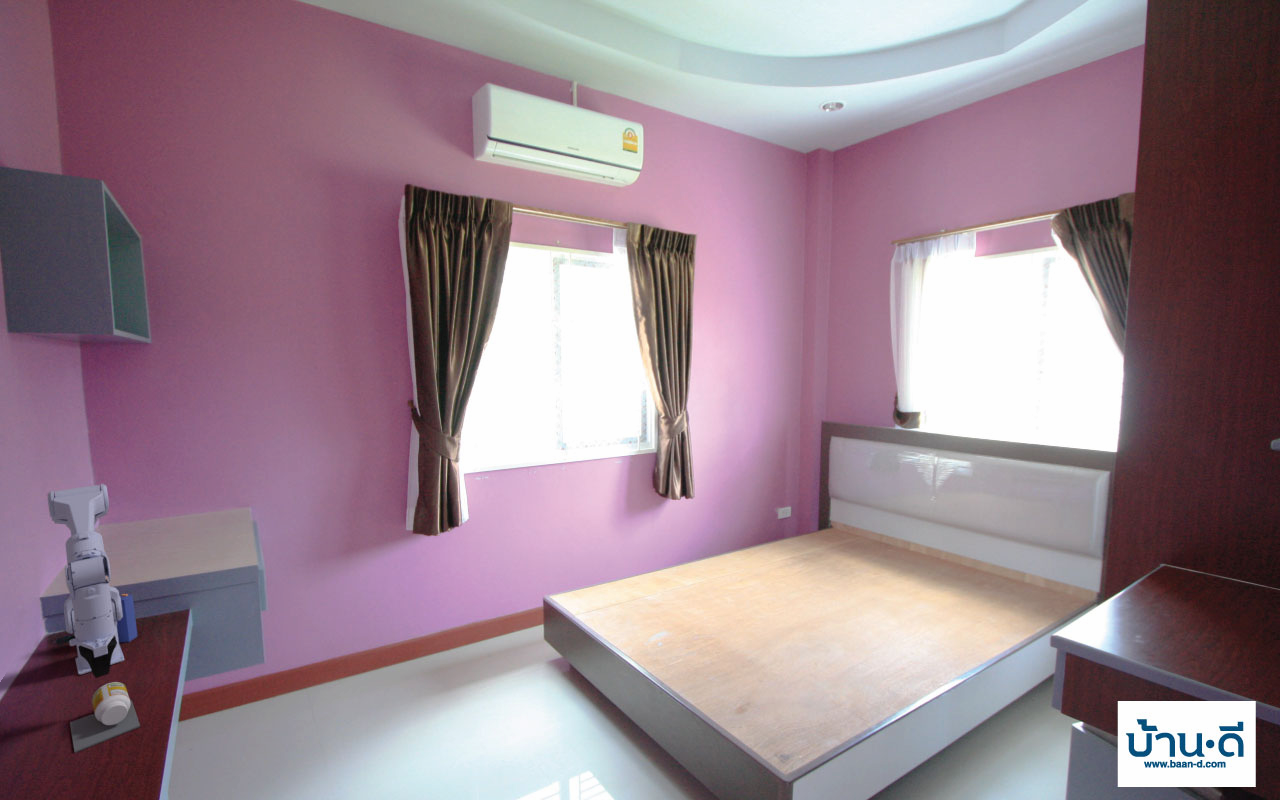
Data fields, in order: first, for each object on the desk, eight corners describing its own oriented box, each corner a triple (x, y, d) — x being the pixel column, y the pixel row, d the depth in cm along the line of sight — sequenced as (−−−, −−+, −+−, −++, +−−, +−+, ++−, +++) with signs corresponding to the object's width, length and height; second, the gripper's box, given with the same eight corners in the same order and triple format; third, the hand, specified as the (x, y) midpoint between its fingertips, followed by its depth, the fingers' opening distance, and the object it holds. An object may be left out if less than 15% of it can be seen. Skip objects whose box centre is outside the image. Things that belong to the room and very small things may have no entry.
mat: (70, 723, 115) (69, 722, 115) (131, 701, 122) (131, 699, 122) (74, 752, 107) (74, 751, 107) (140, 726, 114) (140, 725, 114)
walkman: (137, 636, 148) (132, 593, 146) (129, 642, 145) (123, 598, 144) (105, 637, 147) (99, 594, 146) (96, 643, 144) (90, 599, 143)
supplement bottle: (98, 713, 119) (103, 735, 112) (86, 693, 117) (90, 714, 111) (131, 695, 123) (137, 715, 116) (119, 676, 121) (125, 695, 114)
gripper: (64, 609, 119) (72, 669, 120) (69, 634, 109) (77, 698, 111) (109, 597, 124) (117, 655, 126) (118, 620, 114) (125, 682, 116)
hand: (101, 674), depth 119 cm, fingers closed
